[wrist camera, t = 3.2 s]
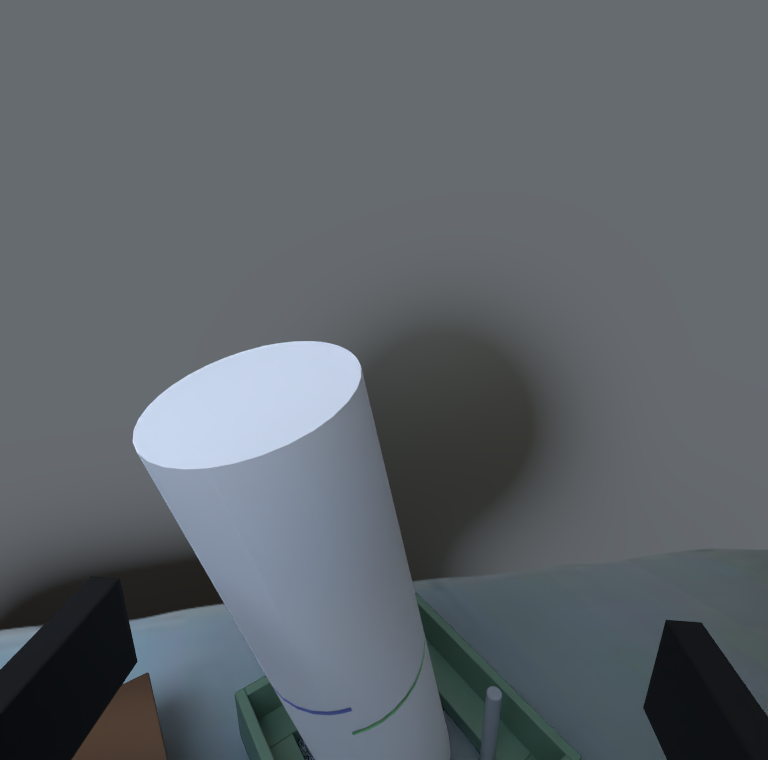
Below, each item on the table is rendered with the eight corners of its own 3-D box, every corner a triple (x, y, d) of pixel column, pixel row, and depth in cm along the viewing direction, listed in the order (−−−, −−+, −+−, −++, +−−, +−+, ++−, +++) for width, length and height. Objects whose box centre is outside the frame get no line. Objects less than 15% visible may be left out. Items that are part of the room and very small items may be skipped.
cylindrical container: (338, 687, 30) (192, 356, 18) (445, 681, 29) (369, 329, 17) (320, 834, 24) (79, 483, 12) (456, 833, 23) (347, 451, 11)
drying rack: (573, 800, 25) (592, 709, 23) (358, 1048, 17) (354, 947, 15) (414, 626, 36) (416, 553, 34) (239, 732, 28) (227, 647, 26)
